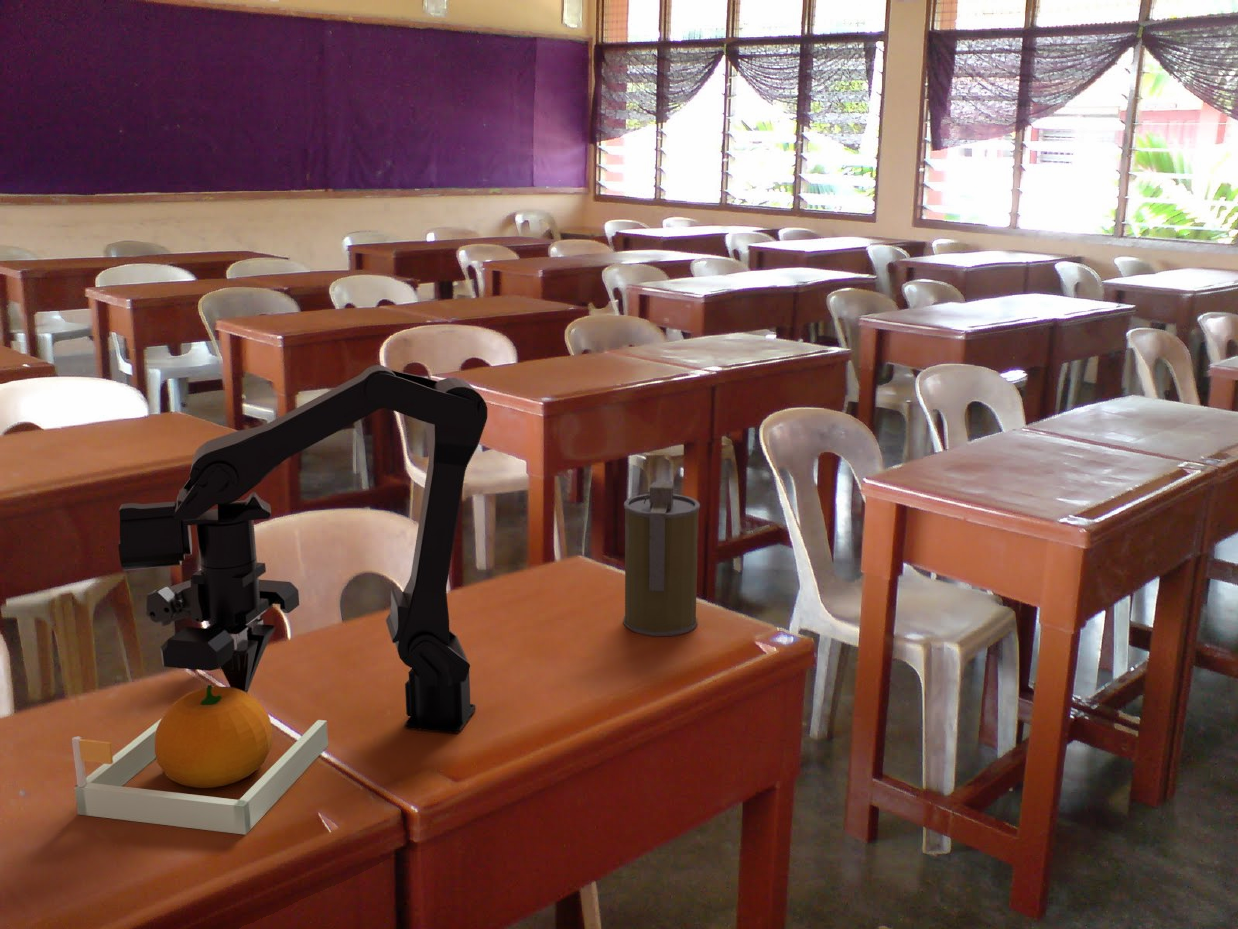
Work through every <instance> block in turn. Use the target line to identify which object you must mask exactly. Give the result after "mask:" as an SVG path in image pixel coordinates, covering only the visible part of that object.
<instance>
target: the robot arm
mask: <svg viewBox="0 0 1238 929" xmlns="http://www.w3.org/2000/svg"><path fill="white" fill-rule="evenodd" d="M381 409H386V410H390V411H394V412H396V413H399V414H401V415H405V416H407V417H410V418H412V419H415V420H418V421H420V422H424V423H425V431H426V441H427V451H428V452H427V453H428V463H427V468H426V476H425V481H424V490H423V495H422V501H421V507H420V514H419V520H418V528H417V532H416V539H415V547H414V552H413V553H414V554H413V559H412V565H411V572H410V576H409V579H408V581H407V583H406V585H405V587H404V589H403V591H402V590H399V589H398V590H397V589H394V588H393V589H391V590H390V604H391V606H390V611H389V614H388V615H387V617H386V618H385V622H386V626H387V628H388V632H389V636H390V638H391V642H392V643H393V644H394V645H395V647H396V652H397V654H398V656H399V659H400V660H401V661H402V663H403V664H404V665H405V666H407V667H409V668H411V669H410V670H409V671H408V680H407V681H406V682H405V684H404V692H405V693H404V694H405V708H406V709H405V713H406V716H407V717H408V719H407V720H406V721H405V722H404V727H405V728H406V729H413V730H421V731H422V730H423V731H433V732H444V733H450V734H451V733H454V734H457V733H460V732H461V731H462V730H463V728H464V726H465V725H466V723H467V722H468V721H469V719H470V718H471V716H472V715H473V714H474V712H475V711H476V707H477V706H476V704H473V703H471V682H470V681H471V679H470V668H471V664H470V662H469V660H468V658H467V655H466V653H465V650H464V648H463V647H462V646H463V645H461V641H460V639H459V638H458V635H456V634H455V633H453V631H451V630H450V615H449V604H448V595H447V594H448V593H447V588H448V587H447V585H448V580H449V574H450V568H451V562H452V556H453V555H452V554H453V550H454V543H455V537H456V533H457V532H456V531H457V527H458V526H457V525H458V520H459V512H460V507H461V499H462V496H463V495H462V494H463V488H464V482H465V476H466V470H467V468H468V465H469V463H470V462H471V460H472V457H473V456H474V454H475V452H476V450H477V449H478V446H479V443H480V441H481V438H482V435H483V433H484V429H485V426H486V424H487V422H488V421H487V420H488V406H487V402H486V400H485V399H484V398H483V396H482V395H481V394H480V393H479V391H477V390H476V389H475V388H474V387H473V386H472V385H471V384H470V383H468V382H467V381H465V380H464V379H461V378H458V377H446V378H443V379H439V380H435V379H432V378H428V377H425V376H422V375H416V374H411V373H408V372H407V373H406V372H402V371H397V370H395V369H390V368H389V367H387V366H385V365H383V364H382V365H380V364H379V365H378V364H376V365H374V364H373V365H371V366H369V367H368V368H366V369H365V370H364V371H363V372H362V373H360V374H359V375H357V376H354V377H353V378H351V379H349V380H347V381H345V382H343V383H341V384H340V385H337V386H336V387H334V388H333V389H331V390H328V391H327V392H325V393H323V394H321V395H319V396H317V397H315V398H313V399H311V400H310V401H307V402H306V403H304V404H302V405H300V406H298V407H296V408H294V409H293V410H290V411H288V412H287V413H285V414H283V415H281V416H280V417H278V418H276V419H273V420H272V421H270V422H268V423H265V424H261V425H258V426H256V427H255V426H254V427H251V428H245V429H242V430H237V431H234V432H230V433H227V434H224V435H221V436H218V437H216V438H213V439H210V440H209V439H208V440H207V441H206V442H204V443H203V444H202V445H200V446H198V448H197V449H196V450H195V452H194V455H193V458H192V461H191V468H190V472H189V479H188V480H187V481H186V483H185V484H184V486H183V487H182V488H180V489H179V491H178V494H177V497H176V501H167V502H165V501H164V502H153V503H137V502H128V503H122V504H121V505H120V507H119V509H118V514H119V540H118V544H117V545H118V547H117V548H118V555H119V561H120V566H121V569H122V571H124V572H126V571H135V570H147V569H157V568H167V567H168V568H169V567H177V566H179V567H180V566H182V564H183V563H182V562H184V561H186V559H185V556H191V555H193V542H192V531H191V530H192V529H191V526H196V527H195V528H196V537H197V538H196V539H197V547H198V557H199V568H200V569H199V570H198V571H196V572H194V573H193V574H192V575H191V577H190V580H186V581H183V582H181V583H180V582H179V583H177V584H174V585H172V586H170V587H169V586H163V587H162V588H160V589H153V591H151V592H150V593H148V594H146V599H145V601H146V602H145V607H146V608H145V609H146V612H145V613H146V616H147V617H148V618H149V619H150V621H152V622H153V623H155V624H157V623H160V625H161V626H162V627H165V626H169V625H171V623H172V622H175V621H179V620H182V619H186V618H188V617H189V618H191V622H192V623H204V622H208V626H207V627H195V626H194V627H193V626H185V627H184V628H182V629H181V630H179V631H178V632H176V633H175V634H173V635H172V636H170V637H169V638H168V639H167V640H166V641H165V642H164V643H162V645H161V646H160V657H161V664H162V665H163V667H165V668H175V669H186V670H196V671H197V670H199V671H205V672H206V671H208V672H211V671H215V670H219V669H220V670H221V671H222V673H223V675H224V677H225V679H226V681H227V683H228V685H229V687H234V688H237V689H240V690H242V691H244V692H246V693H248V691H249V689H250V687H251V684H252V683H253V682H252V681H253V679H254V677H255V674H256V671H257V669H258V667H259V664H260V662H261V659H262V656H263V654H264V653H265V650H266V648H267V645H268V643H269V641H270V638H271V636H272V634H274V632H275V631H276V630H275V629H276V627H275V625H273V624H264V618H261V616H262V615H263V614H264V613H266V612H267V611H268V610H269V609H271V608H272V607H273V606H274V605H279V608H280V610H281V611H282V613H284V614H290V613H291V612H293V610H295V609H296V608H298V607H299V606H300V596H299V589H298V588H297V587H296V586H295V585H294V584H293V583H292V582H291V581H285V580H284V581H283V580H270V579H259V577H261V576H262V575H264V574H265V573H266V572H267V569H266V562H258V555H257V546H256V545H257V544H256V536H255V535H256V534H255V533H256V532H255V523H254V521H259V520H268V519H270V518H271V517H272V509H271V508H272V507H271V504H270V503H268V502H266V501H265V500H263V499H261V497H260V496H259V495H258V494H257V492H255V491H254V492H253V491H252V492H251V493H250V494H249V496H247V498H246V499H244V500H239V499H241V498H242V497H243V496H245V494H247V493H248V492H250V490H252V489H254V488H255V487H256V486H257V485H259V484H260V483H261V482H262V481H263V480H264V479H265V478H266V477H268V476H269V474H270V473H272V471H274V470H275V468H277V467H278V466H279V465H281V464H282V463H283V462H284V461H285V460H287V459H289V458H292V457H293V456H294V455H296V454H298V453H300V452H302V451H305V450H306V449H307V448H309V447H311V446H313V445H315V444H318V443H319V442H321V441H322V440H324V439H326V438H328V437H330V436H332V435H334V434H335V433H337V432H339V431H341V430H343V429H346V428H347V427H349V426H351V425H353V424H354V423H356V422H359V420H362V419H363V418H366V417H367V416H370V415H371V414H373V413H375V412H377V411H379V410H381ZM216 505H217V508H214V507H215V506H216ZM211 508H213V509H211ZM220 667H221V668H220Z"/></svg>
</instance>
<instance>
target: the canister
mask: <svg viewBox="0 0 1238 929" xmlns="http://www.w3.org/2000/svg"><path fill="white" fill-rule="evenodd" d="M674 488H675V487H674V482H673V481H671V480H655V481H654V482H652V484H650V486H649V491H647V493H645V494H639V495H636V496H632V497H629V498H627V499H626V500H624V503H623V508H624V509H625V510H624V512H625V514H624V518H625V519H624V521H625V522H624V530H625V531H624V533H625V534H624V535H625V536H624V542H625V543H624V544H625V545H624V547H625V548H624V563H625V564H624V616H623V619H622V620H623V624H624V626H625V627H626V628H627V629H628V630H630V631H633V632H634V633H638V634H641V635H645V636H651V637H673V636H679V635H683V634H686V633H689V632H691V631H693V630H694V629H695V628H696V627H697V626H698V622H699V620H698V617H697V586H698V585H697V581H698V576H697V575H698V547H699V546H698V545H699V544H698V539H699V510H700V507H701V504H700V502H699V501H698V500H696V499H695V498H693V497H691V496H687V495H681V494H676V493H674Z"/></svg>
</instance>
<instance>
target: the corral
mask: <svg viewBox="0 0 1238 929" xmlns="http://www.w3.org/2000/svg"><path fill="white" fill-rule="evenodd" d="M162 718H163V717H162ZM162 718H160V719H159V720H158V721H156V722H155V723H154V724H152V726H150V727H149V728H148V729H146V730H145V731H144V732H142V733H141V734H139V736H137V737H136V738H135V739H133V740H132V741H131V742H130V743H128V744H127V745H126V746H124V747H123V748H122V749H121V750H119V751H118V752H117V753H115V754H114V755H113V750H112V743H111V741H102V740H95V739H94V740H92V739H84V738H82V737H81V736H73V737H72V738H71V742H72V745H71V746H72V753H73V759H74V767H75V775H76V783H77V784H76V785H75V786H74V795H75V801H76V802H75V803H76V810H77V815H79V816H80V815H82V816H88V817H89V816H90V817H96V818H97V817H98V818H104V819H105V818H106V819H107V818H108V819H114V820H122V821H131V822H139V823H145V824H146V823H148V824H155V825H165V826H171V827H178V828H185V829H186V828H188V829H189V828H190V829H196V830H202V831H203V830H206V831H210V832H211V831H212V832H213V831H214V832H221V833H230V834H236V835H237V834H239V835H244V836H245V835H247V834H249V832H250V831H251V830H252V828H254V826H256V824H257V823H258V822H259V821H260V820H261V819H262V818H263V816H265V814H267V812H268V811H269V810H270V809H271V808H272V807H273V806H274V805H275V804H276V803H277V802H278V801H279V799H281V798H282V796H283V795H284V794H286V792H287V791H288V790H289V789H290V788H291V786H293V784H294V783H295V782H296V781H298V779H299V778H300V777H301V775H302V774H303V773H304V772H305V771H306V770H307V769H308V768H309V767H310V766H311V765H312V764H313V763H314V762H315V760H316V759H318V758H319V756H320V755H321V754H322V753H323V752H324V751H325V750H326V749H327V748H328V747H329V738H328V723H327V720H325V719H324V720H323V719H317V720H316V722H314V724H312V725H311V726H310V727H309V729H307V731H306V732H305V733H303V735H302V736H300V737H299V738H298V739H297V741H295V742H294V744H292V745H291V747H290V748H288V749H287V750H286V752H285V753H284V754H283V755H282V756H280V757H279V759H278V760H277V761H276V762H275V763H274V764H273V765H272V766H271V767H270V768H269V769H268V770H267V771H266V772H265V773H264V774H263V775H262V776H261V777H260V778H259V779H258V780H257V781H256V782H255V783H254V784H253V785H252V786H251V787H250V788H249V789H248V790H247V791H246V792H245V793H244V794H243V796H241V797H240V798H239V799H232V798H225V797H224V798H223V797H216V796H207V795H199V794H192V793H191V794H189V793H182V792H173V791H163V790H156V789H148V788H140V787H139V788H138V787H130V786H124V785H125V784H126V783H128V782H129V781H130V780H131V779H133V778H134V777H135V776H136V775H137V774H138V773H139V772H141V771H142V770H143V769H144V768H146V767H147V766H148V765H149V764H151V762H154V760H156V756H155V734H156V729H157V727H158V725H159V722H160V721H161V719H162ZM86 762H89V763H98V764H101V765H100V766H99V767H97V768H96V769H95V770H94V771H92V772H91V773H90V774H89V775H88V776H86V775H87V774H86V768H85V763H86Z"/></svg>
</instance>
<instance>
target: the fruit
mask: <svg viewBox="0 0 1238 929" xmlns="http://www.w3.org/2000/svg"><path fill="white" fill-rule="evenodd" d="M160 719H161V718H160ZM272 728H273V727H272V723H271V718H270V715H269V713H268V712H267V710H266V708H265V707H264V706H263V705H262V704H261V703H260V702H259V701H258V700H257V699H256V698H255V697H253V696H252V695H251V694H249V693H248V692H247V693H246V692H244V691H242V690H240V689H237V688H234V687H230V686H222V685H221V686H220V685H218V686H213V685H211V684H208V685H207V686H206V687H203V688H199V689H196V690H193V691H191V692H188V693H185V694H184V695H183V696H181V697H180V698H179V699H177V700H176V701H175V702H174V703H173V704H172V705H171V706H170V707H169V708H168V710H167V711H166V713H164V715H163V716H162V719H161V721H160V722H159V725H158V727H157V729H156V734H155V756H156V758H155V760H156V763H157V764H158V766H159V768H160V769H161V770H162V772H163V773H164V774H165V775H166V776H167V777H168V779H170V780H172V781H173V782H175V783H178V784H180V785H182V786H186V787H190V788H197V789H212V788H217V787H223V786H227V785H231V784H233V783H237V782H239V781H241V780H243V779H245V778H247V777H249V776H250V775H252V774H253V773H254V772H256V771H257V770H258V769H259V768H260V767H261V766H262V765H263V763H265V761H266V759H267V757H268V755H269V753H270V750H271V748H272V744H273V735H274V734H273V729H272Z"/></svg>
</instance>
